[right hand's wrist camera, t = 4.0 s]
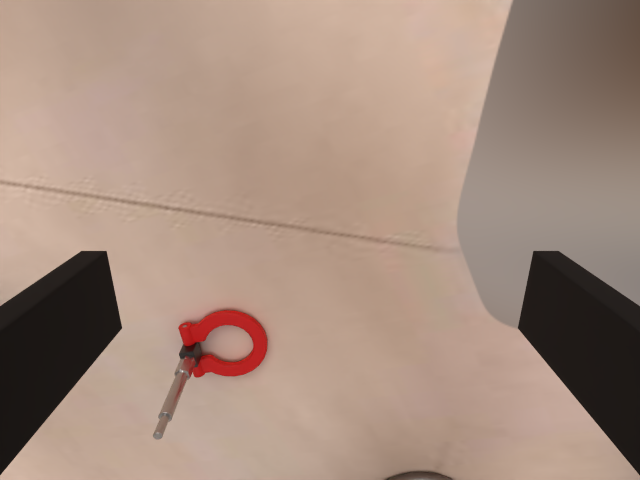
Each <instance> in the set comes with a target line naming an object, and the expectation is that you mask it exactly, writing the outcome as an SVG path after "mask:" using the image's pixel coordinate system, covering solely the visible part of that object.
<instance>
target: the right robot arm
mask: <svg viewBox="0 0 640 480" xmlns="http://www.w3.org/2000/svg"><path fill="white" fill-rule="evenodd" d="M121 329H122V326H121V321H120V316H119V311H118V306H117V301H116V296H115V291H114V286H113V281H112V276H111V271H110V266H109V261H108V256H107V251H81V252H79V253H78V254H77V255H75V256H74V257H72V258H71V259H69V260H68V261H66V262H65V263H63V264H62V265H60V266H59V267H57V268H56V269H54V270H53V271H51V272H50V273H49V274H47V275H46V276H44V277H43V278H41V279H40V280H38V281H37V282H35V283H34V284H32V285H31V286H29V287H28V288H26V289H25V290H23V291H22V292H21V293H19V294H18V295H16V296H15V297H13V298H12V299H10V300H9V301H7V302H6V303H4V304H3V305H1V306H0V475H1V474H2V472H3V471H4V470H5V469H6V468H7V466H8V465H9V464H10V463H11V462H12V460H13V459H14V458H15V457H16V455H17V454H18V453H19V452H20V451H21V449H22V448H23V447H24V446H25V445H26V443H27V442H28V441H29V440H30V439H31V437H32V436H33V435H34V434H35V433H36V431H37V430H38V429H39V428H40V427H41V425H42V424H43V423H44V422H45V420H46V419H47V418H48V417H49V416H50V414H51V413H52V412H53V411H54V410H55V408H56V407H57V406H58V405H59V404H60V402H61V401H62V400H63V399H64V398H65V396H66V395H67V394H68V393H69V392H70V390H71V389H72V388H73V387H74V385H75V384H76V383H77V382H78V381H79V379H80V378H81V377H82V376H83V375H84V373H85V372H86V371H87V370H88V369H89V367H90V366H91V365H92V364H93V363H94V361H95V360H96V359H97V358H98V357H99V355H100V354H101V353H102V352H103V350H104V349H105V348H106V347H107V346H108V344H109V343H110V342H111V341H112V340H113V338H114V337H115V336H116V335H117V334H118V332H119V331H120V330H121ZM518 329H519V330H520V331H521V332H522V334H523V335H524V336H525V337H526V338H527V340H528V341H529V342H530V343H531V344H532V346H533V347H534V348H535V349H536V350H537V352H538V353H539V354H540V355H541V357H542V358H543V359H544V360H545V361H546V363H547V364H548V365H549V366H550V367H551V369H552V370H553V371H554V372H555V373H556V375H557V376H558V377H559V378H560V379H561V381H562V382H563V383H564V384H565V385H566V387H567V388H568V389H569V390H570V392H571V393H572V394H573V395H574V396H575V398H576V399H577V400H578V401H579V402H580V404H581V405H582V406H583V407H584V408H585V410H586V411H587V412H588V413H589V414H590V416H591V417H592V418H593V419H594V420H595V422H596V423H597V424H598V425H599V427H600V428H601V429H602V430H603V431H604V433H605V434H606V435H607V436H608V437H609V439H610V440H611V441H612V442H613V443H614V445H615V446H616V447H617V448H618V449H619V451H620V452H621V453H622V454H623V455H624V457H625V458H626V459H627V460H628V462H629V463H630V464H631V465H632V466H633V468H634V469H635V470H636V471H637V472H638V474H639V475H640V306H639V305H637V304H636V303H634V302H633V301H631V300H630V299H628V298H627V297H625V296H624V295H622V294H621V293H619V292H618V291H617V290H615V289H614V288H612V287H611V286H609V285H608V284H606V283H605V282H603V281H602V280H600V279H599V278H597V277H596V276H594V275H593V274H591V273H590V272H589V271H587V270H586V269H584V268H583V267H581V266H580V265H578V264H577V263H575V262H574V261H572V260H571V259H569V258H568V257H566V256H565V255H563V254H562V253H561V252H559V251H534V252H533V256H532V261H531V266H530V271H529V276H528V281H527V286H526V291H525V296H524V301H523V306H522V311H521V316H520V321H519V326H518ZM387 480H452V479H450V478H448V477H446V476H443V475H439V474H435V473H428V472H413V473H406V474H401V475H398V476H395V477H392V478H390V479H387Z"/></svg>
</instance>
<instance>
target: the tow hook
mask: <svg viewBox="0 0 640 480" xmlns="http://www.w3.org/2000/svg"><path fill="white" fill-rule="evenodd" d="M223 325H234V326H237V327H240V328H242V329H244V330H245V331H246V332H247V333H249V335H250V336H251V338H252V340H253V344H254V348H253V351H252V352H251V354H250V355H249V356H248V357H246V358H245V359H243V360H241V361H238V362H224V361H221V360H219V359H217V358H215V357H214V356H213V355H204V356H202V353H201V350H200V347H199V344H198V342H202V341H205V340H206V337H207V335H208V334H209V332H211V331H212V330H213V329H215V328H217V327H219V326H223ZM179 331H180V334H181V337H182V340H183V343H184V344H183V346H182V348H181V351H180V353H179V356H180V362H179V364H178V366H177V369H176V371H175V379H174V381H173V384H172V386H171V388H170V391H169V393H168V395H167V398H166V400H165V402H164V405H163V407H162V409H161V412H160V414H159V419H160V420H159V422H158V425H157V427H156V429H155V432H154V434H153V437H154V438H155V439H161V438H162V436H163V434H164V431H165V429H166V426H167V423H168V422H169V421H171V419H172V417H173V415H174V412H175V409H176V407H177V404H178V402H179V399H180V396H181V394H182V391H183V389H184V386H185V383H186V381H187V380H188V379H189V378H190V377H191V374H192V372H193V374H194V377H201V376H203V375H204V374H205V373H207V372H213V373H215V374H218V375H223V376H238V375H244V374H246V373H248V372H250V371H252V370H254V369H255V368H256V367H257V366H259V365H260V363H261V362H262V360H263V359H264V357H265V354H266V351H267V337H266V334H265V331H264V329H263V328H262V326H261V325H260V324H259V323H258V322H257V321H256V320H255V319H254V318H253V317H251V316H249V315H247V314H245V313H242V312H238V311H229V310H224V311H219V312H215V313H212V314H210V315H208V316H206V317H205V318H204V319H203V320H201V321H200V322H199V323H197V324H191V323H189V322H186V323H183V324H181V325H180V326H179Z"/></svg>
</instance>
